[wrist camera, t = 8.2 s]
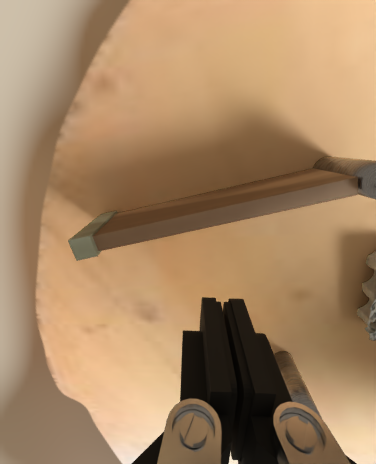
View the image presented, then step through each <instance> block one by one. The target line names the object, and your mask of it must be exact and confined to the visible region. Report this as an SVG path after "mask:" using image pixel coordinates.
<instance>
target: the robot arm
mask: <svg viewBox="0 0 376 464" xmlns="http://www.w3.org/2000/svg"><path fill="white" fill-rule="evenodd" d="M230 451H231V456H232V459H233V460H238V464H356V463H355V462H354V461H352V460H351V459H350V458H349V457H347V456H346V455H345V454H344V452H343V451H342V449H341V447H340V446H339V444H338V443H337V441H336V439H335V438H334V436H333V435H332V433H331V431H330V430H329V428H328V427H327V425H326V424H325V422H324V421H323V420H322V419H321V417H320V416H319V415H317V414H316V413H315V412H314V411H313V410H312V409H310V408H308V407H307V406H305V405H303V404H299V403H296V402H293V401H292V399H291V396H290V394H289V391H288V389H287V386H286V384H285V381H284V379H283V376H282V374H281V371H280V369H279V366H278V364H277V361H276V359H275V356H274V354H273V352H272V349H271V347H270V344H269V342H268V339H267V337H266V335H265V334H262V333H255V331H254V328H253V325H252V323H251V320H250V317H249V314H248V311H247V308H246V305H245V303H244V300H243V299H229V301H228V302H224V306H223V311H222V306H221V302H216V298H203V297H202V303H201V317H200V331H183V342H182V367H181V395H180V402H179V403H178V404H176V405H175V406H174V407H173V409H172V410H171V411H170V413H169V416H168V418H167V421H166V426H165V430H164V432H163V433H162V434H161V435H160V436H159V437H158V438H157V439H156V440H155V441H154V442H153V443H152V444H151V445H150V446H149V447H148V448H147V449H146V450H145V451H144V452H143V453H142V454H141V455H140V456H139V457H138V458H137V459H136V460H135V461H134V462H133V463H132V464H228V463H229V457H230Z"/></svg>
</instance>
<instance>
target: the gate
mask: <svg viewBox="0 0 376 464" xmlns="http://www.w3.org/2000/svg"><path fill="white" fill-rule="evenodd" d="M354 195H358V177H355V176H350V175H345V174H339V173H334V172H329V171H324V170H319V169H314V168H313V169H308V170H304V171H299V172H295V173H291V174H286V175H282V176H278V177H273V178H269V179H265V180H260V181H256V182H252V183H247V184H243V185H239V186H234V187H230V188H226V189H221V190H217V191H213V192H208V193H204V194H199V195H195V196H191V197H186V198H182V199H178V200H173V201H169V202H165V203H160V204H156V205H152V206H147V207H143V208H139V209H134V210H130V211H126V212H121V213H117V211H113V212H108V213H104V214H101V215H99V216H98V217H97V218H96V219H94V220H93V221H92V222H91V223H89V224H88V225H87V226H86V227H84V228H83V229H82V230H81V231H79V232H78V233H77V234H76V235H74V236H73V237H72V238H71V239H69V240H68V242H69V244H70V247H71V249H72V251H73V254H74V256H75V258H76V260H82V259H87V258H91V257H96V256H98V255H99V254H100V252H101V251H102V250H107V249H112V248H116V247H121V246H125V245H130V244H134V243H139V242H144V241H148V240H153V239H157V238H162V237H167V236H171V235H176V234H180V233H185V232H189V231H194V230H199V229H203V228H208V227H212V226H217V225H222V224H226V223H231V222H235V221H240V220H244V219H249V218H254V217H258V216H263V215H267V214H272V213H277V212H281V211H286V210H290V209H295V208H299V207H304V206H309V205H313V204H318V203H322V202H327V201H332V200H336V199H341V198H345V197H350V196H354Z"/></svg>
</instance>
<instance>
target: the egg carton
mask: <svg viewBox="0 0 376 464" xmlns="http://www.w3.org/2000/svg"><path fill="white" fill-rule="evenodd" d="M366 264H367V265H368V266H369V268H372V269H374V275H373V276H372V278H371V279H370V280H368V281H367V282H364V283H362V291H363V292H364V293H365V294H366V296H367V297H369V301H368V303H367V304H366V305H364V306H363V307H360V308H358V310H357V316H359V317H360V318H362V319H363V320H364V322H365V324H366V325H367V326H368V327H366V328H365V330H366V331H367V332H368V333H369V336H370V338H369V339H371V340H373V341H374V340H376V339H375V338H376V251H375V252H374V253H372V254H370V255H368V256H367V259H366ZM370 322H372V323H370Z"/></svg>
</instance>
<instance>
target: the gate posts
mask: <svg viewBox="0 0 376 464" xmlns="http://www.w3.org/2000/svg"><path fill="white" fill-rule="evenodd" d="M313 168H314V169H319V170H324V171H329V172H334V173H339V174H345V175H350V176H355V177H358V194H359V195H362V196H366V197H369V198H373V199H376V161H371V160H360V159H349V158H338V157H324V158H321V159H320V160H318V161H317V162H316V164H315V165H314V167H313ZM274 356H275V359H276V361H277V364H278V366H279V369H280V371H281V374H282V376H283V379H284V381H285V384H286V386H287V389H288V391H289V394H290V396H291V399H292V401H293V402H296V403H299V404H303V405H305V406H307V407H308V408H310V409H312V410H313V411H314V412H315V413H316V414H317V415H319V416H320V414H319V412H318V410H317V408H316V406H315V404H314V401H313V399H312V397H311V395H310V393H309V391H308V389H307V387H306V385H305V383H304V381H303V379H302V377H301V375H300V373H299V371H298V369H297V367H296V364H295V362H294V360H293V358H292V356H291V354H290V353H288V352H284V351H282V352H278V353H276V354H275V355H274ZM320 417H321V416H320ZM321 419H322V418H321Z"/></svg>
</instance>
